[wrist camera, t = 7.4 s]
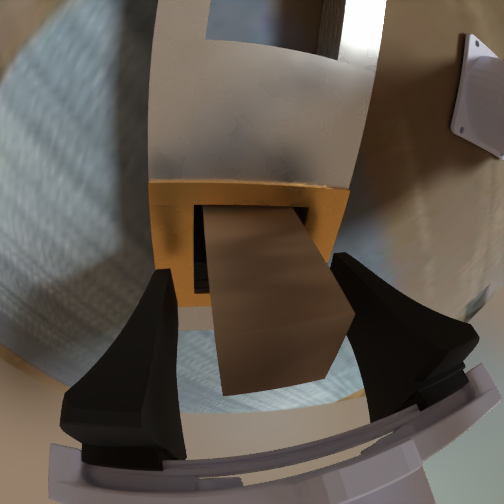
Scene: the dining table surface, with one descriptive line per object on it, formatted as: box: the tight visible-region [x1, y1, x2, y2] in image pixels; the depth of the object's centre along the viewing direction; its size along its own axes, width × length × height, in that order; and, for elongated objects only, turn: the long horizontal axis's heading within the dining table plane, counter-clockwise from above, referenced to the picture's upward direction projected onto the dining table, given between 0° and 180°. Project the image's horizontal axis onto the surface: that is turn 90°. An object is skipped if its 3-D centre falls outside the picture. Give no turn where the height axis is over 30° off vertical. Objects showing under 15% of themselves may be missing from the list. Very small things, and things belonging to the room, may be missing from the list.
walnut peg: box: [203, 205, 355, 396], centre depth 12 cm, size 4×4×9 cm
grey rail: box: [148, 0, 385, 331], centre depth 11 cm, size 9×24×3 cm, turn 173°
